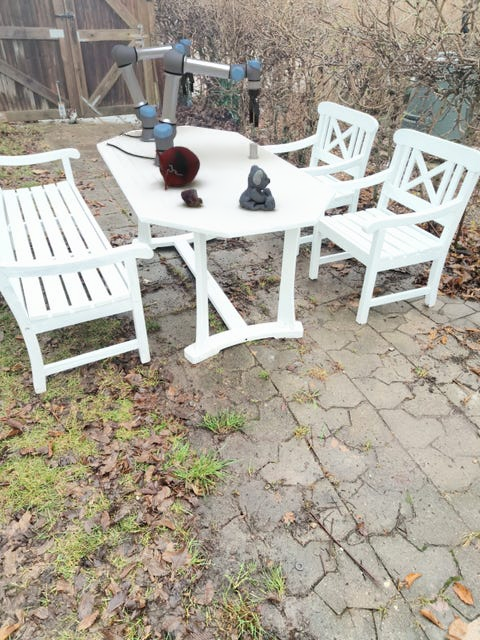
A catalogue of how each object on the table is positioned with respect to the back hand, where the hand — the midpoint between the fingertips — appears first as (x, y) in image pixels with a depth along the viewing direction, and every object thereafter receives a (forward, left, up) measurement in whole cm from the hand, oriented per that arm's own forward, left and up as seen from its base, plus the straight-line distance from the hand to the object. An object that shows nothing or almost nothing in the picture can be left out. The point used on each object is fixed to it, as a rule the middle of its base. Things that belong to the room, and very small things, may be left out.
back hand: (188, 93), depth 357 cm
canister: (+76, -60, -28) cm, 101 cm away
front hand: (+76, -60, -8) cm, 97 cm away
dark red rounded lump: (+54, -126, -28) cm, 140 cm away
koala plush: (+107, -147, -28) cm, 184 cm away
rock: (+75, -156, -28) cm, 176 cm away
